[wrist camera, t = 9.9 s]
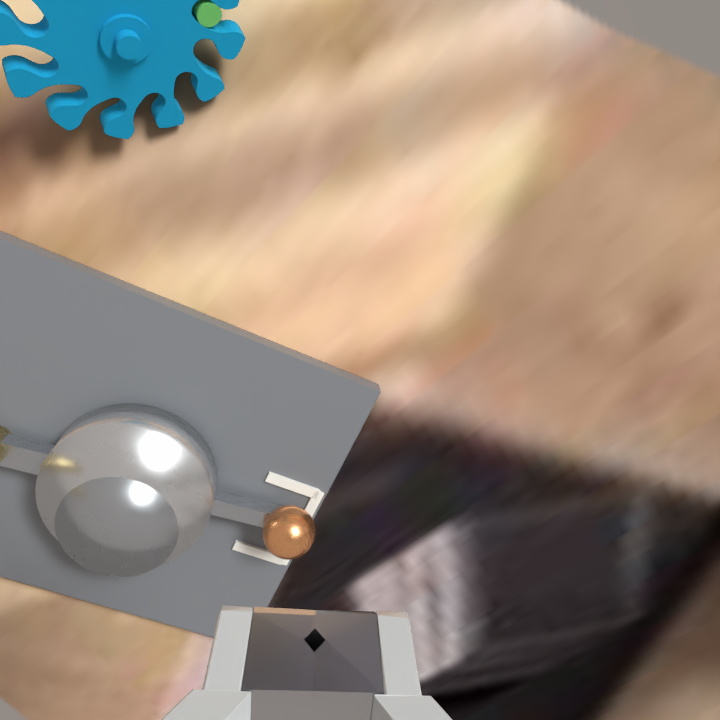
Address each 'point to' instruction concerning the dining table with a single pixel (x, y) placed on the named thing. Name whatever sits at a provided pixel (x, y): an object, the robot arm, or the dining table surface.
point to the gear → (118, 56)
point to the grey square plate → (177, 395)
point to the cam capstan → (139, 491)
